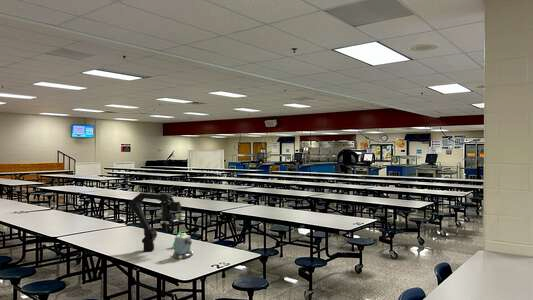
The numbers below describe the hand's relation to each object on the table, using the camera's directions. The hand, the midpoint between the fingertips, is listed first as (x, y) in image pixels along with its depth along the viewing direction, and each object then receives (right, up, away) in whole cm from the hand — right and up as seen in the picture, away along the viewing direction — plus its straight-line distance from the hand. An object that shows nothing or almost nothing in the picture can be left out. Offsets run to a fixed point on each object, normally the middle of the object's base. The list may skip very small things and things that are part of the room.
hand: (166, 233), depth 258 cm
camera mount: (+9, -14, +13) cm, 20 cm away
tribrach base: (+14, -13, -12) cm, 23 cm away
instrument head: (+16, -10, -13) cm, 23 cm away
